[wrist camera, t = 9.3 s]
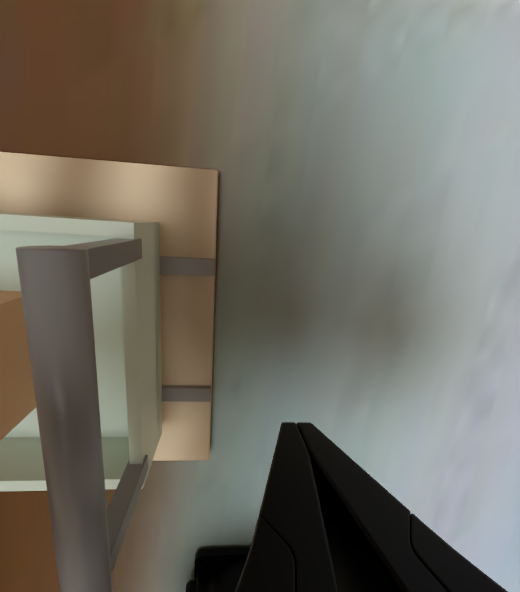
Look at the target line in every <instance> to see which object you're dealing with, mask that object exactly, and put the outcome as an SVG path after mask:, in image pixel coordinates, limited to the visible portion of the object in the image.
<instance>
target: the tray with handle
mask: <svg viewBox="0 0 520 592" xmlns="http://www.w3.org/2000/svg"><path fill="white" fill-rule="evenodd" d="M0 290H2V291H21V295H22V302H23V310H24V318H25V325H26V333H27V341H28V348H29V356H30V363H31V371H32V379H33V386H34V394H35V402H36V408H35V409H34V410H33V411H32V412H30V413H29V414H28V415H27V416H26V417H25V418H24V419H23V420H22V421H21V422H20V423H19V424H18V425H17V426H16V427H15V428H13V429H12V430H11V431H10V432H9V433H8V434H7V435H6V436H5V437H4V438H3V439H2V440H1V441H0V491H42V490H47V493H48V501H49V509H50V516H51V524H52V532H53V539H54V547H55V555H56V562H57V570H58V577H59V585H60V592H113V588H112V572H113V569H114V566H115V563H116V560H117V557H118V554H119V552H120V549H121V546H122V543H123V540H124V537H125V534H126V531H127V528H128V526H129V523H130V520H131V517H132V514H133V511H134V508H135V505H136V503H137V500H138V497H139V494H140V491H141V489H143V487H144V484H145V481H146V478H147V475H148V472H149V469H150V467H151V464H152V461H153V458H154V455H155V452H156V449H157V446H158V443H159V440H160V437H161V434H162V378H161V312H160V245H159V222H147V221H131V220H116V219H101V218H86V217H71V216H56V215H41V214H26V213H11V212H0ZM105 489H116V491H115V493H114V495H113V497H112V500H111V502H110V504H109V507H108V509H107V506H106V492H105Z"/></svg>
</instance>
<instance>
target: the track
mask: <svg viewBox="0 0 520 592" xmlns="http://www.w3.org/2000/svg"><path fill="white" fill-rule="evenodd" d="M218 174H219V173H218V170H209V169H197V168H185V167H173V166H161V165H150V164H138V163H126V162H114V161H102V160H90V159H79V158H67V157H55V156H43V155H31V154H19V153H8V152H0V212H11V213H26V214H41V215H56V216H71V217H86V218H101V219H116V220H131V221H147V222H159V245H160V312H161V378H162V434H161V437H160V440H159V443H158V446H157V449H156V452H155V455H154V458H153V461H166V460H209V455H210V436H211V403H212V370H213V338H214V305H215V272H216V239H217V206H218Z"/></svg>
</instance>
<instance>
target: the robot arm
mask: <svg viewBox="0 0 520 592" xmlns="http://www.w3.org/2000/svg"><path fill="white" fill-rule="evenodd" d="M186 592H507V591H506V590H505V589H504V588H502V587H501V586H500V585H498V584H497V583H496V582H495V581H493V580H492V579H491V578H489V577H488V576H487V575H486V574H484V573H483V572H482V571H481V570H479V569H478V568H477V567H476V566H474V565H473V564H472V563H471V562H469V561H468V560H467V559H466V558H464V557H463V556H462V555H461V554H459V553H458V552H457V551H456V550H454V549H453V548H452V547H451V546H450V545H448V544H447V543H446V542H445V541H444V540H443V539H441V538H440V537H439V536H438V535H437V534H436V533H434V532H433V531H432V530H431V529H430V528H429V527H427V526H426V525H425V524H424V523H423V522H422V521H421V520H420V519H419V518H417V517H416V516H415V515H414V514H411V515H410V511H409V510H408V509H407V508H406V507H405V506H404V505H403V504H401V503H400V502H399V501H398V500H397V499H396V498H395V497H394V496H393V495H391V494H390V493H389V492H388V491H387V490H386V489H385V488H384V487H382V486H381V485H380V484H379V483H378V482H377V481H376V480H375V479H373V478H372V477H371V476H370V475H369V474H368V473H367V472H366V471H364V470H363V469H362V468H361V467H360V466H359V465H358V464H357V463H355V462H354V461H353V460H352V459H351V458H350V457H349V456H348V455H346V454H345V453H344V452H343V451H342V450H341V449H340V448H339V447H337V446H336V445H335V444H334V443H333V442H332V441H331V440H330V439H328V438H327V437H326V436H325V435H324V434H323V433H322V432H321V431H320V430H318V429H317V428H316V427H315V426H314V425H313V424H311V423H300V422H299V423H297V424H296V423H294V422H283V423H282V424H281V427H280V431H279V435H278V440H277V444H276V448H275V452H274V456H273V460H272V464H271V468H270V472H269V476H268V480H267V484H266V488H265V493H264V497H263V501H262V505H261V509H260V513H259V518H258V520H257V524H256V528H255V532H254V536H253V540H252V543H251V547H250V548H228V549H203V550H199V551H198V552H197V553H196V555H195V573H194V580H190V581H189V582H188V583H187V585H186Z"/></svg>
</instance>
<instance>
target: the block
mask: <svg viewBox="0 0 520 592" xmlns="http://www.w3.org/2000/svg"><path fill="white" fill-rule="evenodd" d="M35 408H36V402H35V394H34V386H33V379H32V371H31V363H30V356H29V348H28V341H27V333H26V325H25V318H24V310H23V302H22V295H21V291H2V290H0V441H1V440H2V439H3V438H4V437H5V436H6V435H7V434H8V433H9V432H10V431H11V430H12V429H13V428H15V427H16V426H17V425H18V424H19V423H20V422H21V421H22V420H23V419H24V418H25V417H26V416H27V415H28V414H29V413H30V412H32V411H33V410H34V409H35Z"/></svg>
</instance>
